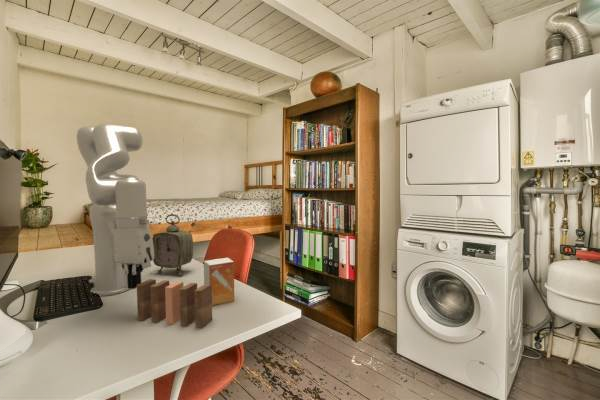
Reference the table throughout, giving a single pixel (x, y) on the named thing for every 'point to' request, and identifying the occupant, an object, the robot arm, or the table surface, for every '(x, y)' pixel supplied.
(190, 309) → the domino
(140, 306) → the domino
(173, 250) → the tabletop clock
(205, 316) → the domino
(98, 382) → the table surface
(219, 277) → the small box
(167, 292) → the domino
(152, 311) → the domino
